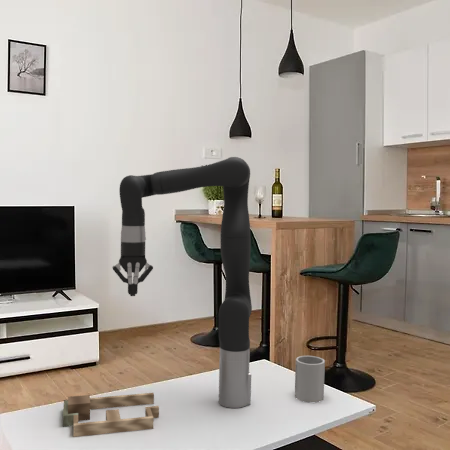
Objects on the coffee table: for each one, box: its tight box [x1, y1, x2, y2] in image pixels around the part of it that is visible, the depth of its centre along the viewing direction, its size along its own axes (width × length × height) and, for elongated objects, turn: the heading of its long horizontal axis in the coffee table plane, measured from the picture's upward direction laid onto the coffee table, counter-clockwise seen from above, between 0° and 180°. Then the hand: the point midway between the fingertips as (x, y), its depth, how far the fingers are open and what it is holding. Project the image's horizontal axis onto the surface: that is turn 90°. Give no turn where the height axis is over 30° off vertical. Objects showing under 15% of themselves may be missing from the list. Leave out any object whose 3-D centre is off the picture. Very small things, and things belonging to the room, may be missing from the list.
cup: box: [294, 355, 326, 403], centre depth 167 cm, size 9×9×12 cm
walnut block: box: [67, 394, 91, 422], centre depth 149 cm, size 6×6×5 cm
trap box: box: [62, 392, 160, 438], centre depth 148 cm, size 26×18×3 cm
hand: (132, 295), depth 163 cm, fingers closed
